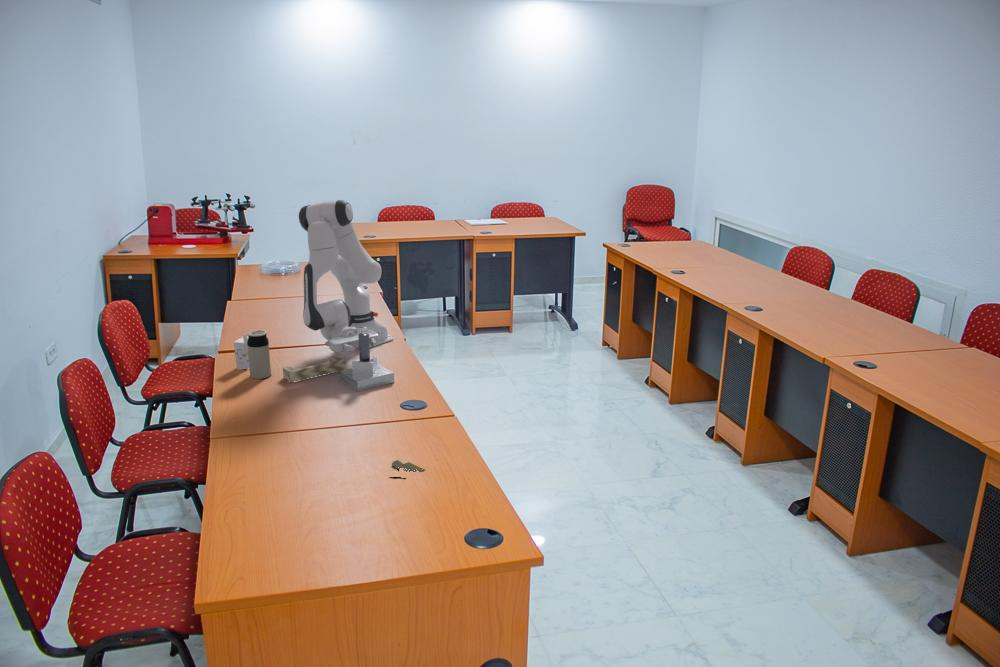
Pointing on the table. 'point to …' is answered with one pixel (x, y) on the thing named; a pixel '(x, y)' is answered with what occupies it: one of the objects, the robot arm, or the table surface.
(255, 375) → the travel mug
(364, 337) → the steel axle
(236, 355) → the ink cartridge box
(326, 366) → the notched beam
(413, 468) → the olive green flat piece
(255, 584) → the table surface
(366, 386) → the v block
